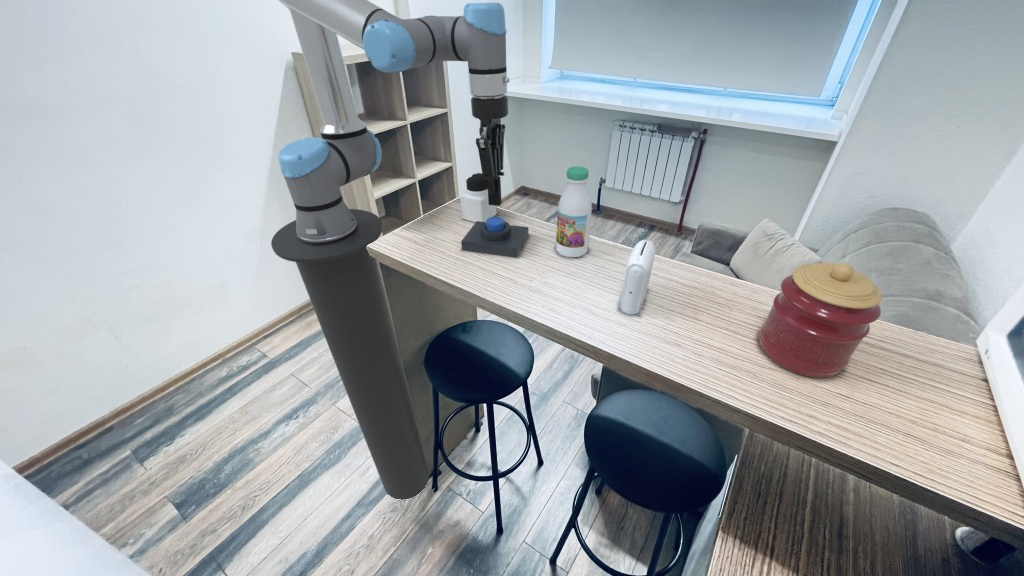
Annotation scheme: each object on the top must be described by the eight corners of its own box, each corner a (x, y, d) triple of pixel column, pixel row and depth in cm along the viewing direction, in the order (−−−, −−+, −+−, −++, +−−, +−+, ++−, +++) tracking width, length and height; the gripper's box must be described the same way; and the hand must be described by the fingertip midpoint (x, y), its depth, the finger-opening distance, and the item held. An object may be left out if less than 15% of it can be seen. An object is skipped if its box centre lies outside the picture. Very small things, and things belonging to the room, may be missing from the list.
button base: (462, 250, 100) (460, 233, 97) (477, 229, 108) (476, 214, 106) (517, 257, 96) (516, 240, 94) (528, 235, 105) (528, 220, 102)
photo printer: (639, 317, 78) (650, 263, 71) (616, 312, 79) (626, 258, 72) (648, 288, 85) (660, 236, 78) (628, 284, 87) (637, 232, 80)
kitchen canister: (838, 338, 72) (890, 253, 62) (850, 390, 63) (914, 300, 53) (756, 318, 77) (792, 236, 67) (756, 364, 68) (798, 277, 57)
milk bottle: (565, 239, 103) (570, 161, 91) (593, 247, 99) (602, 167, 88) (549, 252, 98) (553, 171, 86) (578, 261, 94) (586, 178, 83)
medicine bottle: (497, 214, 115) (495, 173, 108) (482, 224, 110) (480, 182, 103) (476, 209, 118) (473, 169, 111) (461, 219, 113) (457, 177, 106)
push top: (484, 231, 99) (483, 223, 97) (489, 223, 102) (489, 215, 101) (501, 233, 98) (501, 225, 96) (506, 225, 101) (506, 217, 100)
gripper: (496, 103, 76) (502, 217, 90) (515, 89, 86) (517, 194, 100) (459, 101, 78) (470, 214, 92) (482, 89, 88) (488, 192, 102)
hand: (495, 204), depth 96 cm, fingers closed
